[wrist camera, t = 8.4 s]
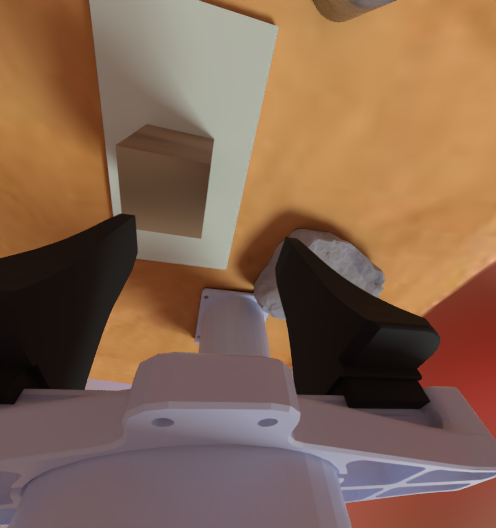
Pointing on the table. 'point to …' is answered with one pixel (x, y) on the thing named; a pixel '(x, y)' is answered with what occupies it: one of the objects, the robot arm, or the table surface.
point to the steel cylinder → (347, 8)
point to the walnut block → (165, 179)
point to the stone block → (333, 254)
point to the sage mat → (184, 101)
